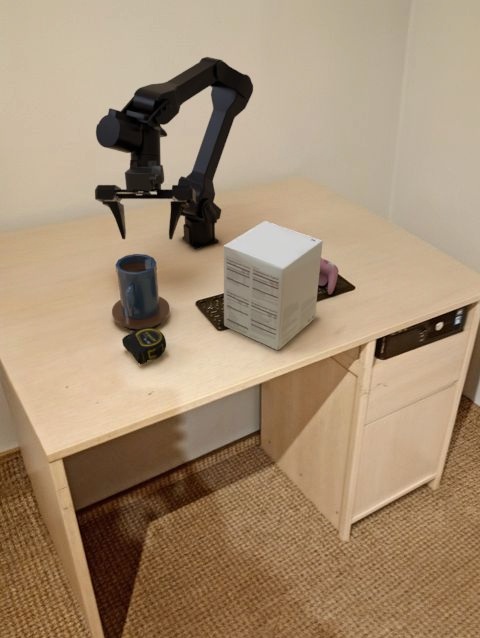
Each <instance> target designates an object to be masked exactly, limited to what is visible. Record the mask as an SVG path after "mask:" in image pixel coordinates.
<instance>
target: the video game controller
mask: <svg viewBox="0 0 480 638" xmlns="http://www.w3.org/2000/svg"><path fill="white" fill-rule="evenodd" d="M338 275H339V268H338V266H337V265H336V264H334V263H332V262H331V261H329V260H327V259H325V258H322V257H321V263H320V273H319V282H318V286H320V287H325V286H326V285H327V294H328V295H333V293H334V291H335V288H336V284H337V281H338Z"/></svg>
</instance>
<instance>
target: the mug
mask: <svg viewBox="0 0 480 638" xmlns="http://www.w3.org/2000/svg"><path fill="white" fill-rule="evenodd" d="M115 272H116V276H117V284H118V290H119V291H118V292H119V298H120V299H119V300H118V301H117V302H115V304H114V305H113V306H112V307H111V317H112V319H113V321H114V322H115V323H116V324H118V325H119V326H121V327H122V326H124V327H127V328H133V329H140V328H150V327H153V326H156V325H158V324H160V323H162V322H163V323H164V321H166V320H167V319H168V317H169V316H170V312H171V307H170V304H169V302H168V300H166V299H165V298H163V297H162V296H160V294H159V293H160V292H159V281H158V263H157V261H156V259H155V258H154V257H153V256H150V255H148V254H143V253H133V254H127V255H124V256H123V257H121V258H119V259H118V260H117V261H116V262H115ZM163 323H162V324H163ZM124 327H123V328H124Z"/></svg>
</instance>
